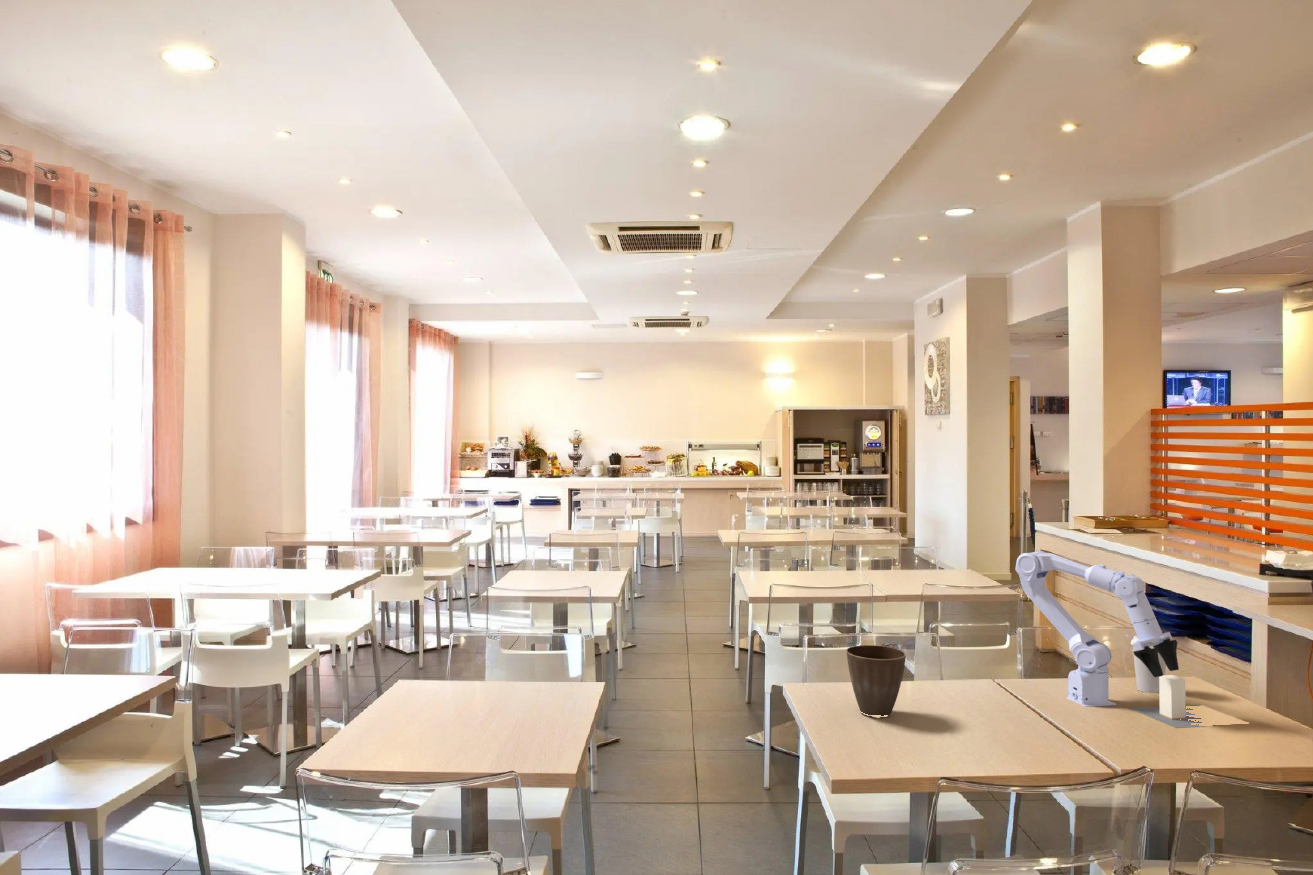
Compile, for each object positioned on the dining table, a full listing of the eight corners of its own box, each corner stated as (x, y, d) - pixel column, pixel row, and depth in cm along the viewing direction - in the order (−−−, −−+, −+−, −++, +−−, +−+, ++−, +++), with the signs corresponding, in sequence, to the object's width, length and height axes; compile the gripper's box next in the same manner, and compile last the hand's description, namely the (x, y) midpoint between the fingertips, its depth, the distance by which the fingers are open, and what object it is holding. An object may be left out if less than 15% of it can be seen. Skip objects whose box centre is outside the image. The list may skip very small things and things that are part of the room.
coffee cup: (1123, 688, 237) (1122, 636, 237) (1145, 684, 241) (1144, 633, 241) (1155, 697, 228) (1155, 642, 229) (1177, 693, 232) (1177, 639, 233)
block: (1171, 719, 207) (1171, 679, 208) (1159, 714, 211) (1159, 675, 212) (1185, 718, 208) (1185, 678, 208) (1173, 713, 212) (1173, 674, 212)
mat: (1176, 729, 201) (1176, 727, 201) (1128, 709, 217) (1128, 708, 217) (1254, 725, 204) (1254, 723, 204) (1202, 706, 220) (1202, 704, 220)
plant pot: (918, 719, 208) (918, 655, 208) (869, 726, 202) (869, 660, 202) (881, 702, 221) (881, 643, 222) (834, 708, 216) (834, 647, 216)
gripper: (1143, 622, 207) (1166, 676, 203) (1173, 612, 215) (1196, 664, 211) (1117, 628, 213) (1140, 681, 209) (1148, 618, 220) (1170, 669, 216)
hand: (1166, 673), depth 210 cm, fingers open, 7 cm apart
